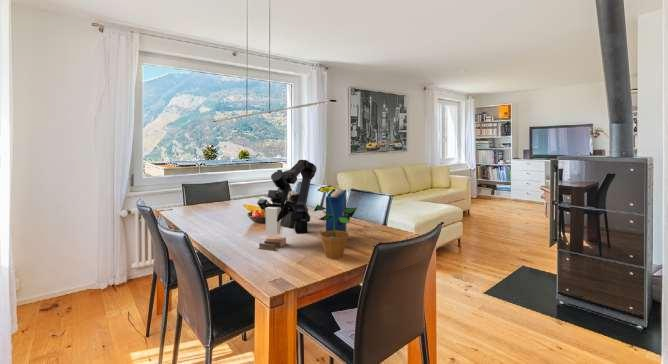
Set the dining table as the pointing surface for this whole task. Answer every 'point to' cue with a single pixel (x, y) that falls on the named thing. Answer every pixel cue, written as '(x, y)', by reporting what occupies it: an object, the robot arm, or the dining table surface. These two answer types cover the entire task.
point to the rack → (270, 245)
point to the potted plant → (334, 238)
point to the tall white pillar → (272, 220)
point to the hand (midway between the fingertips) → (271, 220)
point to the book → (336, 209)
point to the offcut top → (276, 239)
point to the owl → (287, 219)
